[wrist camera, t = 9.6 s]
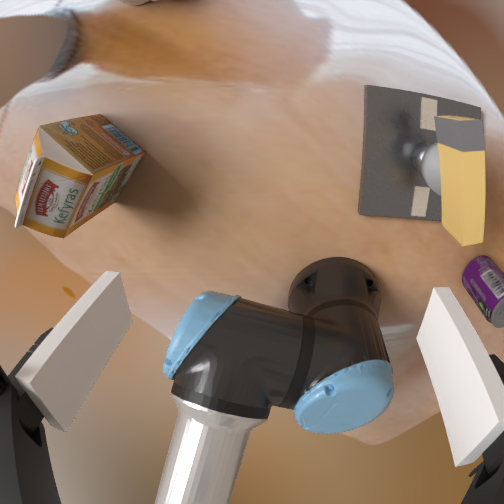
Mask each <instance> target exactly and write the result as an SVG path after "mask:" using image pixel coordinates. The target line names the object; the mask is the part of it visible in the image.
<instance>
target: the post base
mask: <svg viewBox="0 0 504 504" xmlns="http://www.w3.org/2000/svg"><path fill="white" fill-rule="evenodd" d="M447 115H457V116H463V117H469V118H474V119H479V120H480V115H481V108H480V107H476V106H473V105H469V104H465V103H462V102H458V101H454V100H449V99H445V98H441V97H436V96H431V95H427V94H422V93H416V92H411V91H405V90H399V89H393V88H386V87H379V86H371V85H365V98H364V134H363V153H362V169H361V182H360V193H359V204H358V213H359V215H369V216H385V217H399V218H412V219H425V220H436V221H442V200H441V196H440V195H438V194H437V193H435V192H434V191H433V190H432V189H430V188H429V187H428V186H427V185H426V183H425V182H424V180H423V178H422V174H421V160H422V157H423V155H424V153H425V151H426V150H427V149H428V148H429V147H430V146H431V145H432V144H434V143H437V136H436V128H435V120H434V116H447Z"/></svg>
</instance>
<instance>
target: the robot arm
mask: <svg viewBox="0 0 504 504" xmlns="http://www.w3.org/2000/svg"><path fill="white" fill-rule="evenodd" d="M380 303H381V295H380V289H379V286H378V284H377V281H376V278H375V277H374V275H373V273H372V272H371V271H370V270H369V269H368V268H367V267H366V266H365V265H363V264H362V263H360V262H358V261H355V260H352V259H349V258H343V257H332V258H326V259H322V260H319V261H316V262H314V263H312V264H310V265H309V266H307V267H306V268H304V269H303V270H302V271H301V272H300V273H299V274H298V275H297V276H296V278H295V279H294V281H293V282H292V285H291V287H290V291H289V300H288V308H289V311H286V310H283V309H279V308H275V307H271V306H268V305H264V304H260V303H257V302H253V301H250V300H246V299H242V298H241V296H238V295H236V296H231V295H226V294H222V293H218V292H214V291H207V292H203V293H201V294H200V295H198V296H197V297H196V298H195V299H194V300H193V301H192V303H191V304H190V305H189V307H188V308H187V310H186V311H185V313H184V315H183V317H182V318H181V320H180V322H179V324H178V326H177V328H176V330H175V333H174V335H173V337H172V340H171V342H170V345H169V348H168V350H167V354H166V356H167V357H166V359H165V362H164V366H163V372H164V374H165V375H166V376H167V377H168V378H169V379H171V380H174V383H173V387H172V390H171V394H170V395H171V397H172V398H173V400H174V402H175V403H176V405H177V407H178V409H179V414H178V418H177V421H176V425H175V429H174V432H173V436H172V440H171V443H170V447H169V451H168V455H167V458H166V462H165V466H164V470H163V474H162V478H161V482H160V485H159V489H158V493H157V497H156V501H155V504H229V501H230V498H231V495H232V492H233V489H234V485H235V482H236V479H237V476H238V472H239V469H240V466H241V462H242V459H243V456H244V452H245V449H246V445H247V442H248V439H249V435H250V431H251V430H252V429H253V428H255V427H257V426H259V425H261V424H263V423H264V422H266V421H267V420H268V416H269V413H270V409H271V407H272V406H278V407H283V408H287V409H293V410H294V416H295V418H296V421H297V423H298V424H299V425H300V426H301V427H303V428H304V429H306V430H308V431H310V432H314V433H322V434H331V433H340V432H345V431H349V430H353V429H355V428H358V427H360V426H363V425H365V424H367V423H369V422H371V421H372V420H374V419H375V418H377V417H378V416H379V415H380V414H381V413H383V412H384V410H385V409H386V408H387V407H388V406H389V404H390V402H391V400H392V398H393V394H394V385H393V378H392V367H391V365H390V361H389V357H388V354H387V350H386V347H385V343H384V340H383V337H382V333H381V330H380V327H379V324H378V315H379V309H380ZM132 323H133V319H132V316H131V312H130V309H129V305H128V302H127V298H126V294H125V291H124V287H123V283H122V279H121V275H120V272H110V271H105V272H104V273H103V274H102V275H101V277H100V278H99V279H98V280H97V281H96V282H95V283H94V284H93V285H92V286H91V287H90V288H89V289H88V290H87V291H86V293H85V294H84V295H83V296H82V297H81V298H80V299H79V300H78V301H77V302H76V304H75V305H74V306H73V307H72V308H71V309H70V310H69V311H68V313H67V314H66V315H65V316H64V317H63V318H62V320H61V321H60V322H59V323H58V324H57V325H56V326H55V328H51V329H49V330H48V331H46V332H45V333H43V334H42V335H41V336H40V337H39V338H38V340H37V341H36V342H35V345H33V346H32V347H31V348H30V349H29V352H27V353H26V354H25V355H24V356H23V358H22V359H21V360H20V361H19V363H18V364H17V365H16V367H15V368H14V369H13V370H12V372H11V373H10V374H9V375H8V376H7V375H6V374H5V372H4V370H3V369H2V367H1V366H0V504H61V501H60V498H59V494H58V491H57V487H56V483H55V479H54V475H53V471H52V467H51V462H50V457H49V452H48V447H47V441H46V435H45V429H44V426H43V424H42V422H41V421H42V419H43V418H44V417H45V418H46V419H47V421H48V422H49V423H50V425H51V426H53V427H55V428H58V429H60V430H62V431H64V432H67V430H68V429H69V427H70V425H71V423H72V422H73V419H74V418H75V416H76V414H77V413H78V411H79V409H80V407H81V406H82V404H83V403H84V401H85V399H86V397H87V396H88V394H89V392H90V391H91V389H92V387H93V386H94V384H95V382H96V381H97V379H98V377H99V376H100V374H101V372H102V371H103V369H104V367H105V366H106V364H107V363H108V361H109V359H110V358H111V356H112V354H113V353H114V351H115V350H116V348H117V347H118V345H119V344H120V342H121V340H122V339H123V337H124V336H125V334H126V333H127V331H128V330H129V328H130V326H131V325H132ZM416 339H417V342H418V344H419V347H420V350H421V353H422V355H423V358H424V361H425V364H426V367H427V369H428V372H429V375H430V378H431V381H432V384H433V387H434V390H435V394H436V397H437V400H438V403H439V407H440V410H441V413H442V417H443V420H444V424H445V427H446V431H447V435H448V439H449V443H450V446H451V451H452V455H453V459H454V464H455V467H458V466H462V465H466V464H469V463H473V462H474V461H475V460H476V459H477V458H478V457H479V456H480V455H481V454H482V455H483V459H484V461H483V462H482V463H481V464H479V465H478V466H477V467H476V468H475V469H474V470H473V471H472V472H471V473H470V475H469V477H471V476H472V475H474V474H475V473H476V472H477V473H476V475H475V477H474V479H473V481H472V483H471V485H470V487H469V489H468V491H467V493H466V495H465V497H464V499H463V501H462V503H461V504H504V363H503V362H502V361H501V360H500V359H499V358H498V357H497V356H496V355H495V354H492V355H488V353H487V351H486V349H485V347H484V345H483V344H482V342H481V340H480V338H479V336H478V335H477V333H476V331H475V329H474V328H473V326H472V324H471V322H470V321H469V319H468V317H467V316H466V314H465V312H464V311H463V309H462V307H461V306H460V304H459V303H458V301H457V299H456V298H455V296H454V295H453V293H452V292H451V290H450V288H449V287H434V288H433V291H432V294H431V298H430V301H429V304H428V307H427V310H426V313H425V316H424V318H423V321H422V324H421V327H420V330H419V332H418V335H417V338H416Z"/></svg>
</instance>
